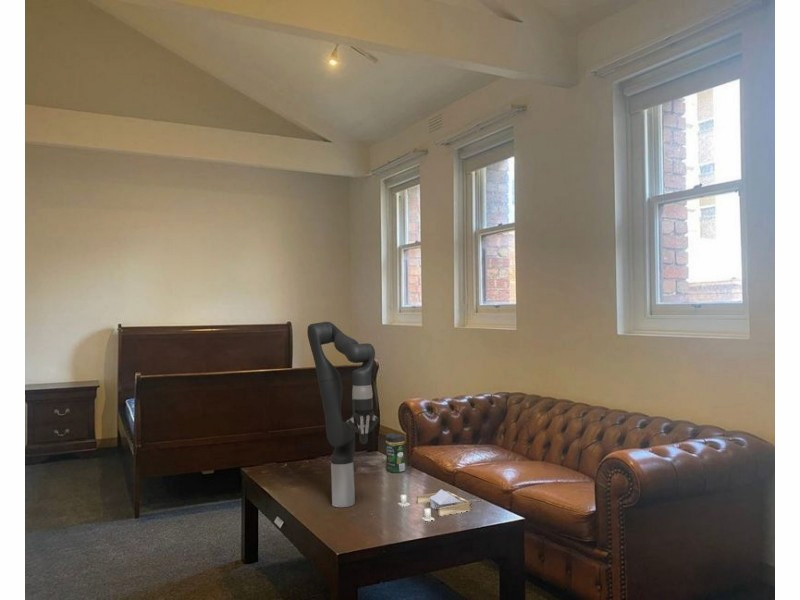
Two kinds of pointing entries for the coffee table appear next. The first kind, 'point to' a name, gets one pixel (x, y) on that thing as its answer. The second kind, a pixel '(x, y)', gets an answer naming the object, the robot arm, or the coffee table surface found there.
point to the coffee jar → (395, 453)
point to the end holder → (447, 510)
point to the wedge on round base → (442, 500)
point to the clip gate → (426, 510)
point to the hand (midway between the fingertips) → (363, 443)
